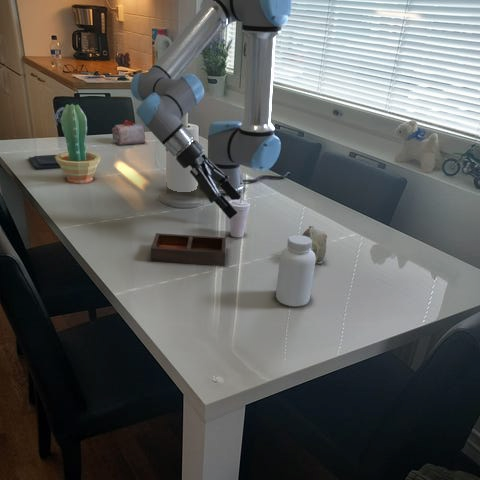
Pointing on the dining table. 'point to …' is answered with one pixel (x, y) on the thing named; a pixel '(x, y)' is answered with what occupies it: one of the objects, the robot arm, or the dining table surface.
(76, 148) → the potted cactus
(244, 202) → the smoothie
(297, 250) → the pill bottle
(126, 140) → the food item
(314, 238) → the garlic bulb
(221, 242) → the tray
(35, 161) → the wallet
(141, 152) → the dining table surface
